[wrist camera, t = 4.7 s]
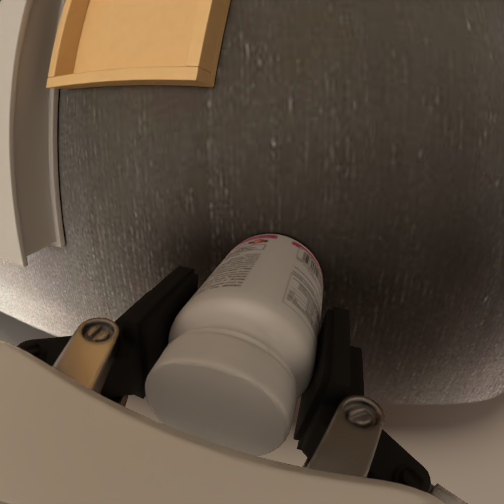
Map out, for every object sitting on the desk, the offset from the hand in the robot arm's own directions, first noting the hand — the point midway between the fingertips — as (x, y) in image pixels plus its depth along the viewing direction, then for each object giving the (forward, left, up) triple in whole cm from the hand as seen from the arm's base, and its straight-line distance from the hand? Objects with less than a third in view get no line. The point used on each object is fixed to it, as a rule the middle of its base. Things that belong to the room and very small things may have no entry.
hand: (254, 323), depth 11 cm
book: (+24, -12, -4) cm, 27 cm away
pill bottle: (0, 0, -4) cm, 4 cm away
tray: (+4, -22, -4) cm, 23 cm away
